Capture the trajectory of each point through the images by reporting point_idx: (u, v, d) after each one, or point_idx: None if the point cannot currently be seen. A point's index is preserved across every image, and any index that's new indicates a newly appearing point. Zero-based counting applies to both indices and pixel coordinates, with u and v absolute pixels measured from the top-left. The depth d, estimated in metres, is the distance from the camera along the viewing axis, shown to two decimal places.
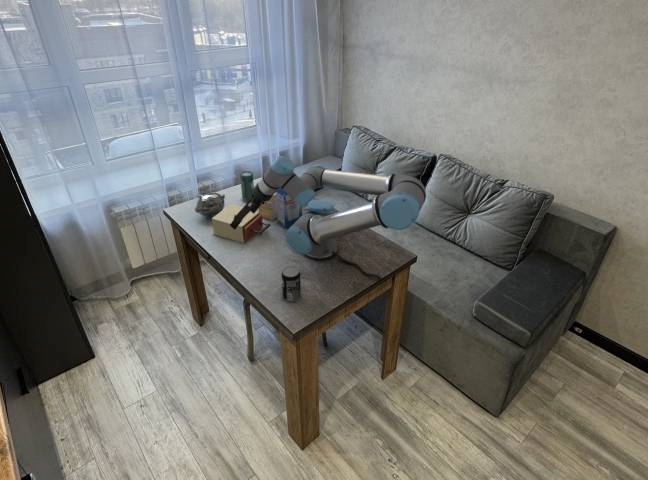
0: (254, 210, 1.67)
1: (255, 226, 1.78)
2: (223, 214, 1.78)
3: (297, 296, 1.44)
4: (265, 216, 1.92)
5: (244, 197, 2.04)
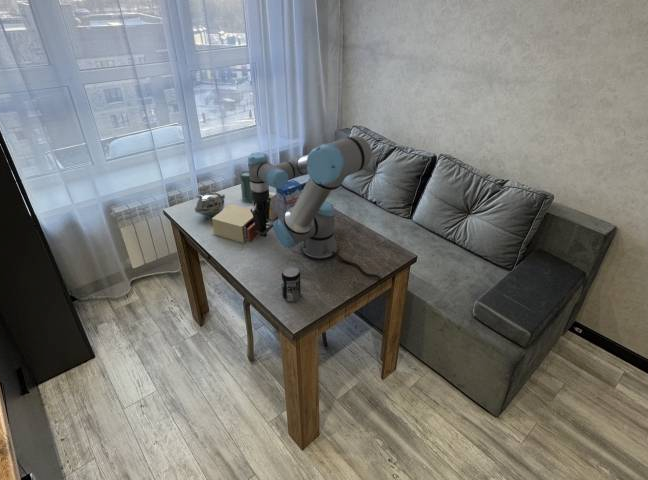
0: None
1: (258, 227, 1.77)
2: (223, 214, 1.78)
3: (297, 296, 1.44)
4: None
5: (244, 197, 2.04)
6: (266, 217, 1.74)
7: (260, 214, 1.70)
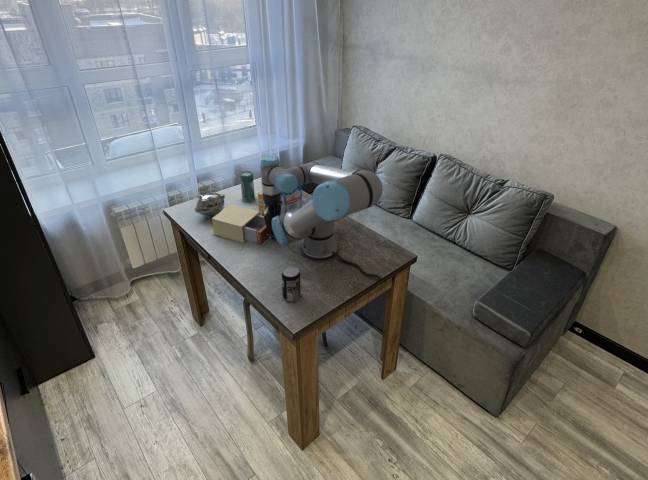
0: None
1: (269, 230, 1.76)
2: (223, 214, 1.78)
3: (297, 296, 1.44)
4: None
5: (244, 197, 2.04)
6: None
7: (271, 217, 1.68)
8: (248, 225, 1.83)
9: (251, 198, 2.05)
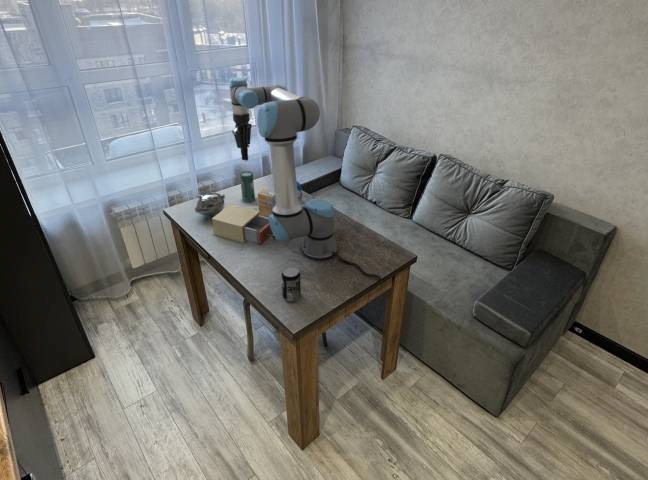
0: None
1: (269, 230, 1.76)
2: (223, 214, 1.78)
3: (297, 296, 1.44)
4: (265, 216, 1.92)
5: (244, 197, 2.04)
6: (247, 141, 1.92)
7: (241, 137, 1.88)
8: (248, 225, 1.83)
9: (251, 198, 2.05)
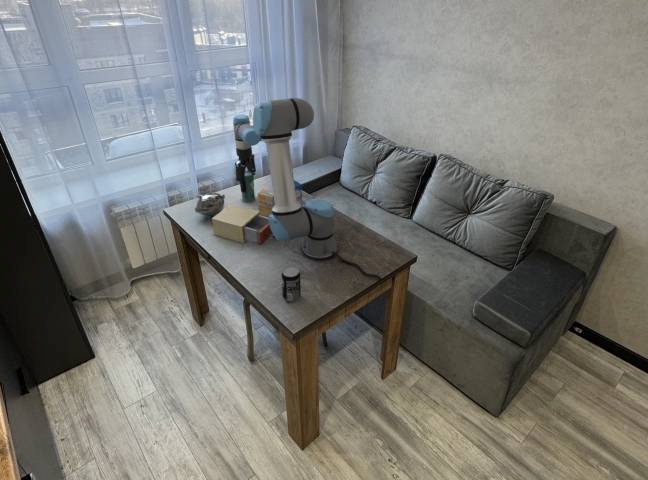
0: None
1: (269, 230, 1.76)
2: (223, 214, 1.78)
3: (297, 296, 1.44)
4: (265, 216, 1.92)
5: (244, 197, 2.04)
6: (253, 170, 2.03)
7: (242, 170, 1.96)
8: (248, 225, 1.83)
9: (251, 198, 2.05)
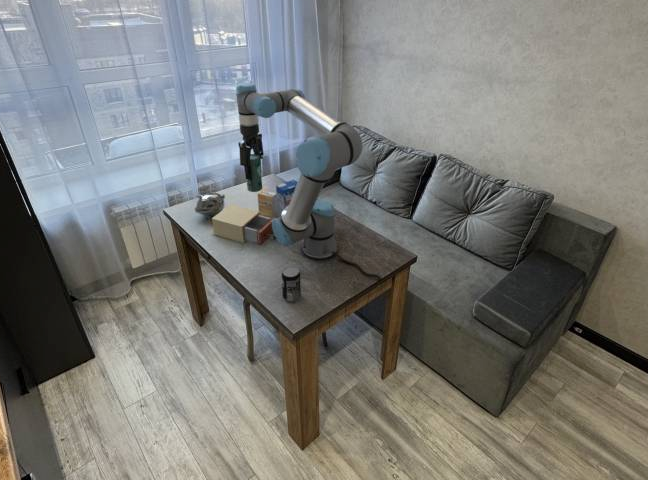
0: None
1: (269, 230, 1.76)
2: (223, 214, 1.78)
3: (297, 296, 1.44)
4: (265, 216, 1.92)
5: (249, 186, 1.70)
6: (260, 153, 1.69)
7: (247, 152, 1.61)
8: (248, 225, 1.83)
9: (258, 187, 1.70)
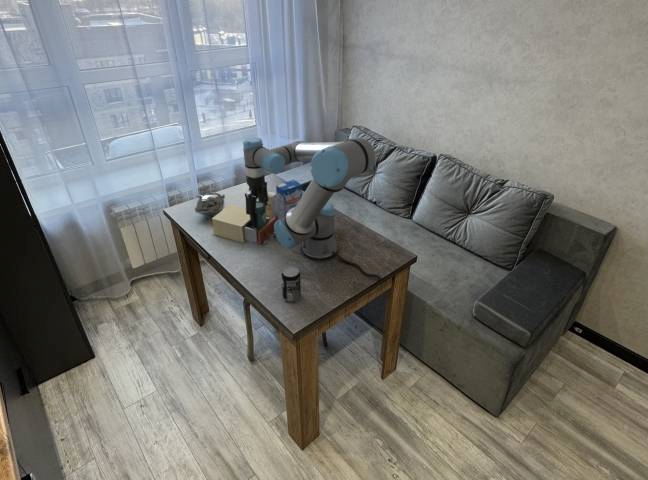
0: None
1: (269, 230, 1.76)
2: (223, 214, 1.78)
3: (297, 296, 1.44)
4: None
5: None
6: (265, 200, 1.73)
7: (253, 201, 1.66)
8: (248, 225, 1.83)
9: None
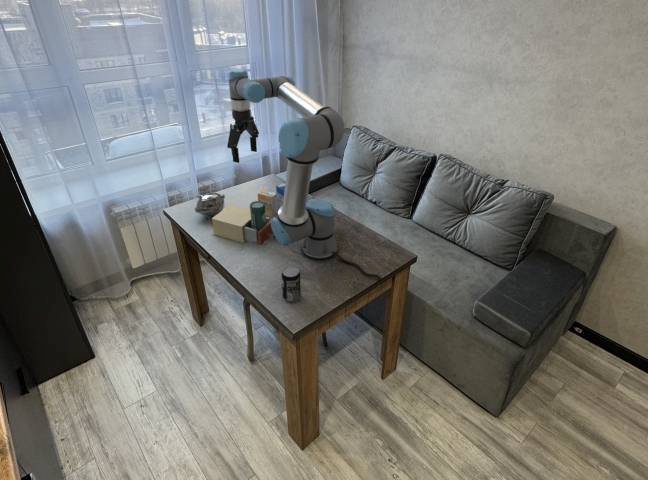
0: (254, 147, 1.79)
1: (269, 230, 1.76)
2: (223, 214, 1.78)
3: (297, 296, 1.44)
4: None
5: None
6: (254, 133, 1.75)
7: (237, 135, 1.65)
8: (248, 225, 1.83)
9: None
